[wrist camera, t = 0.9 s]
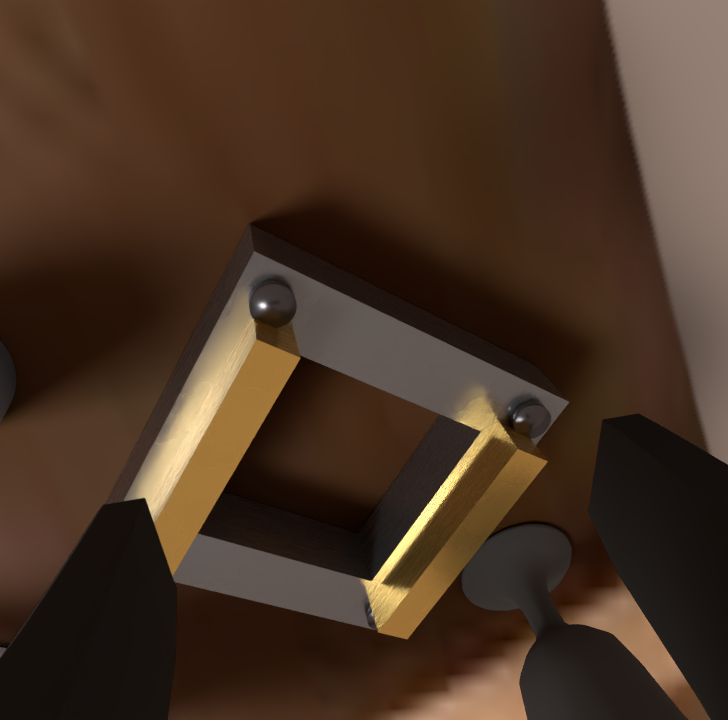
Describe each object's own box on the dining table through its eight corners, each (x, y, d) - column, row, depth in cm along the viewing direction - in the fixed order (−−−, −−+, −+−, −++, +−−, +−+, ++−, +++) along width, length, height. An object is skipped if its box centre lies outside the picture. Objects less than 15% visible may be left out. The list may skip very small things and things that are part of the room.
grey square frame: (102, 509, 22) (82, 603, 18) (249, 223, 18) (258, 274, 15) (376, 583, 26) (401, 671, 23) (536, 365, 22) (595, 430, 19)
